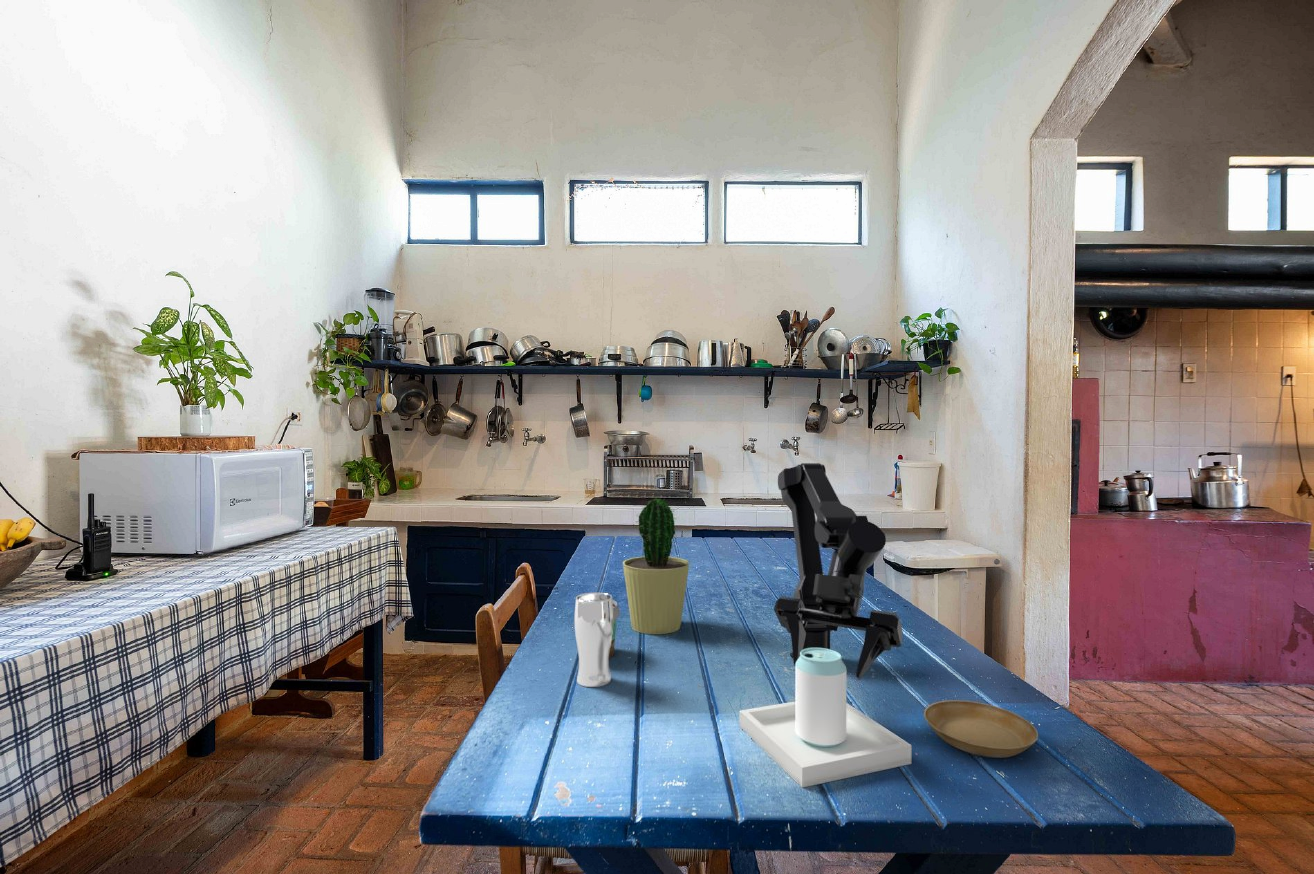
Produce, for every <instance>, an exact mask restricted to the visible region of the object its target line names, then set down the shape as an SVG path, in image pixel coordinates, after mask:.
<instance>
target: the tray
mask: <svg viewBox="0 0 1314 874" xmlns="http://www.w3.org/2000/svg"><path fill="white" fill-rule="evenodd" d="M738 713H739V719H738V720H739V722H738V723H739V724H738V725H739V726H740V727H741V728H742V729H743V730H744V731H746V733H747V734H748V735H749V736H750V737H751V738H752V739H751V738H750V737H749V736H748V735H747V734H746V733H745V734H746V735H747V736H748V737H749V738H750V739H751V740H752V741H753V742H754V743H755V744H756V745H757V746H759V748H760V749H761V750H762V751H763V752H765V753H766V754H767V756H769V757H770V758H771V759H772V760H773V761H774V762H775V763H776V764H777V765H778V766H779V767H780V768H781V769H783V771H784V772H785V773H786V774H788V776H790V777H791V778H792V780H794V781H795V782H796V783H797V784H798V786H800V787H801V788H807V787H811V786H817V785H820V784H826V783H830V782H834V781H838V780H842V779H843V780H844V779H848V778H853V777H857V776H862V775H867V774H871V773H875V772H880V771H885V770H889V769H895V768H897V767H904V766H908V765H912V744H910V743H908V742H907V741H906V740H904V739H903V738H901V737H899V736H898V735H896V734H895V733H894V732H892V731H890V730H889V729H887V728H886V727H884V726H883V725H881V724H880V723H878V722H877V721H876V720H874V719H873V718H871V717H869V716H868V715H866V714H865V713H863V712H862V711H860V710H858V709H857V708H855V707H854V706H852V705H851V704H849V703H848V702H846V739H845V740H844V741H843V742H842V743H840V744H838V745H837V746H834V747H817V746H813V745H810V744H808V743H806V742H805V741H803V740H802V739H801V738H800V737H799V736H798V735H797V734H796V732H795V701H789V702H784V703H778V704H771V705H765V706H759V707H754V708H747V709H741V710H739V712H738ZM740 727H739V728H740ZM741 728H740V729H741ZM742 729H741V730H742ZM743 730H742V731H743ZM744 731H743V732H744Z"/></svg>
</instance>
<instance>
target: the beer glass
mask: <svg viewBox="0 0 1314 874" xmlns="http://www.w3.org/2000/svg"><path fill="white" fill-rule="evenodd" d="M612 600H613V596H612V595H611V594H610V593H605V592H585V593H581V594H578V595H577V596H576V597H575V605H574V606H575V607H574V633H575V635H574V636H575V641H576V646H577V652H578V653H577V654H578V670H577V677H576V683H577V684H578V685H579V686H581V687H585V688H599V687H603V686H606V685H608V684H609V683H610V682H611V681H612V676H611V670H610V665H609V664H610V660H609V659H610V658H609V652H610V646H611V640H612V634H613V620H614V619H613V602H612Z"/></svg>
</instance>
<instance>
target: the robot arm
mask: <svg viewBox="0 0 1314 874" xmlns="http://www.w3.org/2000/svg"><path fill="white" fill-rule="evenodd" d="M826 473H827V471H826V466H825V465H824V464H822V463H820V462H819V463H817V462H816V463H815V462H814V463H813V462H811V463H810V462H809V463H808V462H807V463H805V462H804V463H803V462H801V464H797V465H795V466H793V467H789V468H788V467H785V468H784V469H783V470H781V472H779V473H778V475H777V487H778V490H779V491H780V493H781V499H782V501H783V502H784V504H785V505H786V506H787V508H788V509H789V510H790V511H791V518H792V526H793V534H794V535H793V536H794V544H795V550H796V551H795V552H796V557H797V559H796V560H797V565H798V567H797V568H798V574H799V581H798V583H797V585H796V588H795V589H794V592H793V597H786V596H780V597H779V598H778V599H776V601H775V605H774V608H773V611H774V613H775V616H776V617H777V620H778V623H779V625H780V626H781V627H783V628H784V629H786V632H788V634H790V638H791V647H792V648H791V650H792V652H789V656H790V657H791V658H792V659H793V666H794V667H795V664H796V661H797V660H798V658H799V657H800V652H801V651H802V650H804V649H807V648H825V649H830V650H831V632H837V631H838V629H839V627H840V628H846V629H851V630H855V631H856V630H858V631H864V632H865V634H864V641H863V645H862V647H861V650H860V651H861V652H860V655H859V659H858V662H857V667H856V674H855V678H856V680H858V681H860V680H861V679H862V678H863V676H864V675H865V673H866V672H867V671H868V669H869V668H870V667H871V665H872V664H873V663H874V662H875V660H877V658H879V656H881V654H883V652H885V651H891V650H892V647H893V648H901V647H902V643H903V628H902V627H903V626H902V623H901V622H902V621H901V618H900V617H899V615H898V614H897V613H896V612H890V611H883V610H877V609H871V611H870V614H869V617H862V616H858V614H859V610H860V606H861V604H862V600H863V597H864V590H865V589H864V587H865V585H864V584H865V578H866V574H867V569H868V568H870V567H872V565H873V564H874V562H875V561H876V560H877V559H878V557H879V555H880V554H881V552H882V551H883V549H884V548H885V545H886V543H887V542H886V541H887V540H886V534H885V532H883V530H882V529H881V528H880V527H879V526H878V525H876V524H874V523H873V522H870V521H869V519H868V516H867V515H857V514H856V513H855V511H854V510H853V509H852V508H850V507H848V506H846V505H844V504H842V502H841V501H840V498H839V497H838V495H837V493H836V491H835V489H834V488H833V485H832V484H831V482H830V480H829V478H828V476H827V474H826ZM820 547H821V548H822V549H836V550H834V551H833V552H832V554H831V555H832V556H831V560H830V564H829V569H828V572H827V574H824V570H823V563H822V555H821V548H820Z"/></svg>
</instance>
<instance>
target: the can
mask: <svg viewBox="0 0 1314 874" xmlns="http://www.w3.org/2000/svg"><path fill="white" fill-rule="evenodd" d="M842 658H843V657H842V655H841V653H840V652H838V651H836V650H834V649H831V648H830V649H825V648H807V649H804V650H802V651H801V652H800V657H799V658H798V660H797V661H796V664H795V666H794V667H795V670H794V671H795V682H794V683H795V684H794V685H795V688H794V690H795V692H794V693H795V695H794V698H795V701H794V702H795V732H796V734H797V735H798V736H799V737H800V738H801V739H802V740H803V741H805V742H806V743H808V744H810V745H813V746H817V747H834V746H837V745H838V744H840V743H842V742H843V741H844V740H845V739H846V703H847V666H846V665H845V663H844V661H843V660H842Z"/></svg>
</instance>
